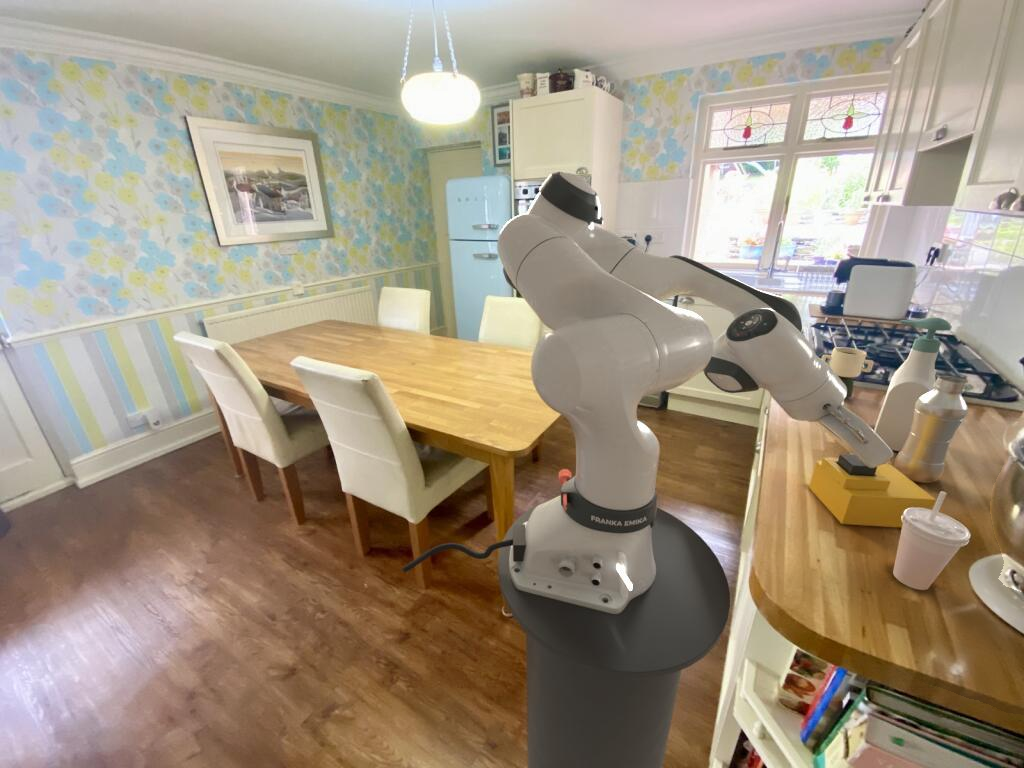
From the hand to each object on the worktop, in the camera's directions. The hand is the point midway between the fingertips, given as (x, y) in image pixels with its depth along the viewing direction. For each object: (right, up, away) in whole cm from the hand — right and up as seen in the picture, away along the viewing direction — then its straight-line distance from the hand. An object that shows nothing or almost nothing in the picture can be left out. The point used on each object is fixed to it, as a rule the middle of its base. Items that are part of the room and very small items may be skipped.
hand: (858, 449), depth 68 cm
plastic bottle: (+20, -7, +11) cm, 23 cm away
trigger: (0, -4, +1) cm, 4 cm away
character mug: (+32, +7, +46) cm, 56 cm away
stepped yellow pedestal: (+3, -10, +3) cm, 11 cm away
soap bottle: (+26, -2, +24) cm, 36 cm away
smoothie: (-2, -16, -11) cm, 20 cm away
